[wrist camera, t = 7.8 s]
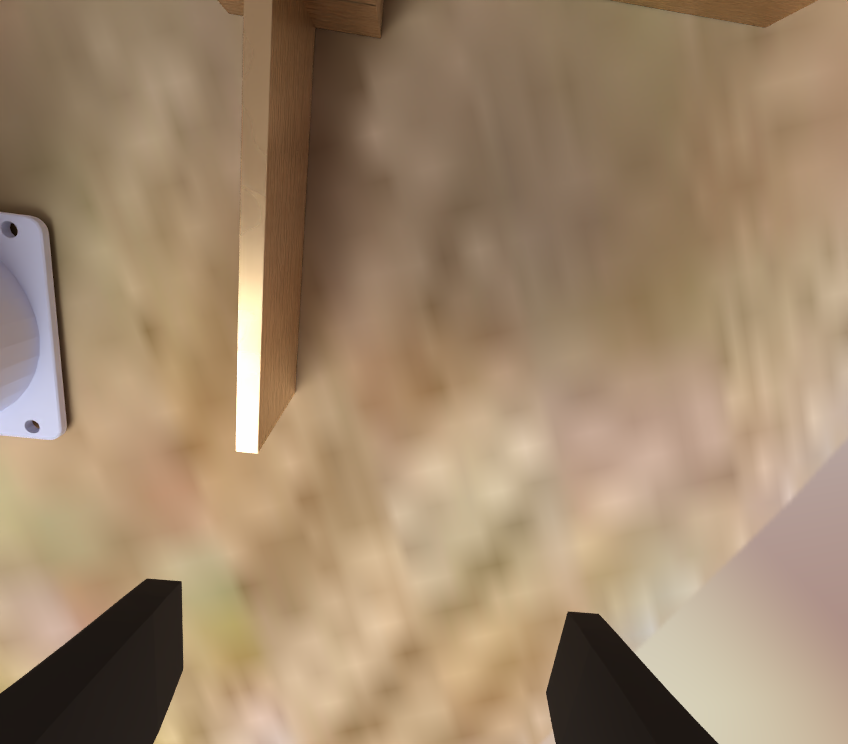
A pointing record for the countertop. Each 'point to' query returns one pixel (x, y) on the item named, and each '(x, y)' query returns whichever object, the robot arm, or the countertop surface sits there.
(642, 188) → the countertop surface
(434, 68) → the countertop surface
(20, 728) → the robot arm
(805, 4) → the hinge leaves
